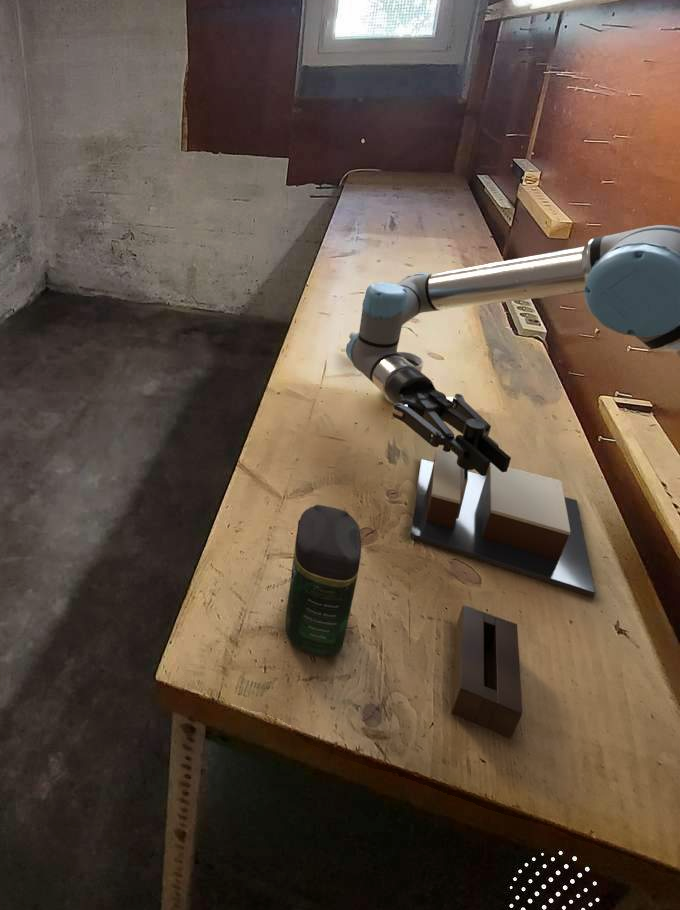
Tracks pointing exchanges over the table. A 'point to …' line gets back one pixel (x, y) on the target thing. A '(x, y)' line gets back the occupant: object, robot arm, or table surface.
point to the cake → (525, 512)
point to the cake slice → (444, 490)
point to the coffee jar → (323, 580)
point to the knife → (475, 436)
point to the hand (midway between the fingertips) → (496, 466)
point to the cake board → (470, 543)
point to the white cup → (413, 360)
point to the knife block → (503, 692)
